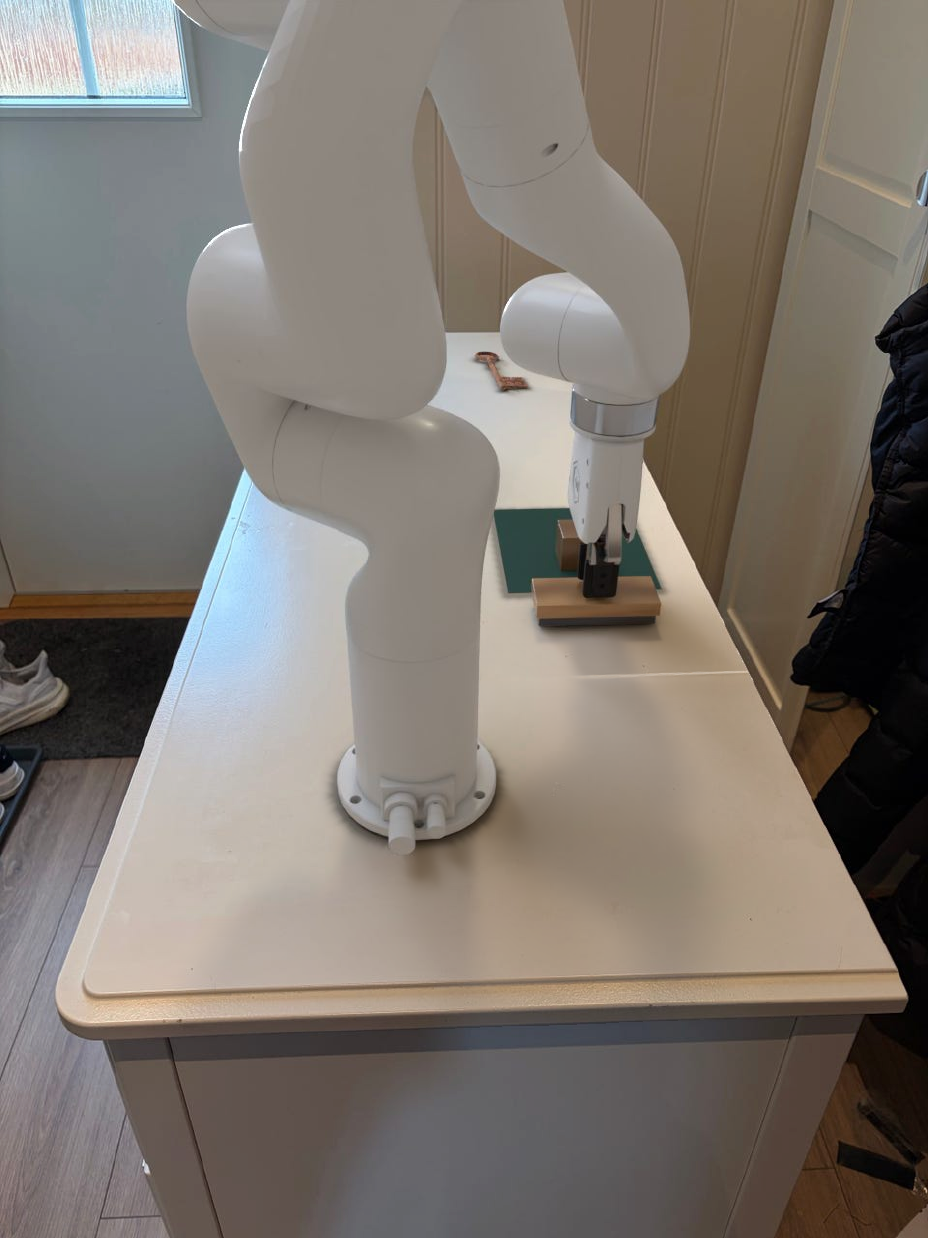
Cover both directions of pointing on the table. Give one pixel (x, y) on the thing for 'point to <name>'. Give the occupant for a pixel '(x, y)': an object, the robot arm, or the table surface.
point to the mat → (550, 548)
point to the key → (499, 379)
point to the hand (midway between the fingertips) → (596, 585)
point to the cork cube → (567, 545)
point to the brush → (594, 601)
